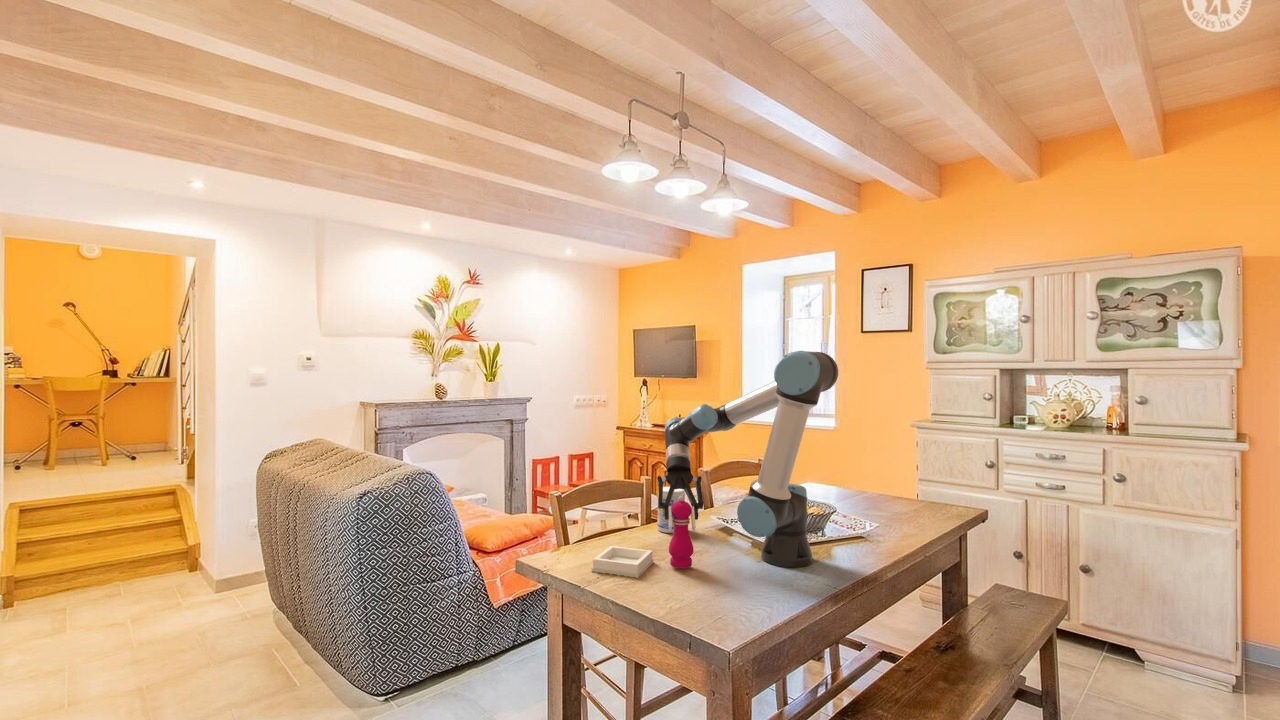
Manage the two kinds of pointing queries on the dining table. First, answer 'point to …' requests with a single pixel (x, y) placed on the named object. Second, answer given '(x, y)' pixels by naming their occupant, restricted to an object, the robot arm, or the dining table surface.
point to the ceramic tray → (623, 561)
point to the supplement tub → (661, 522)
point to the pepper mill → (681, 535)
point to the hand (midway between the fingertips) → (682, 528)
